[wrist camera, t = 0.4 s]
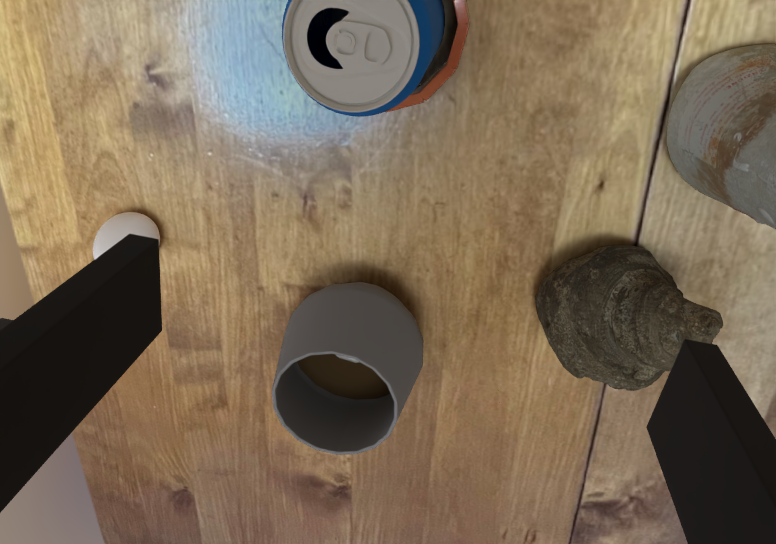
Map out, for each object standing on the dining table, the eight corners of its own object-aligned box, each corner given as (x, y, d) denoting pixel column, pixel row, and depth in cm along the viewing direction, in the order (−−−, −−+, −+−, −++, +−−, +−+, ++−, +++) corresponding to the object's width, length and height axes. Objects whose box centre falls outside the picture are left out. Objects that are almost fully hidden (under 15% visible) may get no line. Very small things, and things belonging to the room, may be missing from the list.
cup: (297, 255, 43) (249, 330, 34) (429, 263, 42) (415, 343, 33) (305, 367, 47) (264, 459, 38) (425, 377, 46) (412, 474, 37)
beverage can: (342, -52, 34) (279, -62, 23) (456, -31, 34) (445, -31, 23) (328, 67, 37) (267, 107, 26) (433, 88, 37) (413, 136, 26)
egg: (113, 203, 43) (66, 233, 38) (164, 208, 43) (123, 239, 38) (121, 251, 45) (77, 286, 40) (170, 257, 45) (131, 292, 40)
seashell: (763, 412, 36) (778, 262, 32) (609, 501, 33) (602, 346, 29) (622, 333, 46) (618, 210, 42) (491, 396, 42) (472, 268, 38)
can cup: (330, -88, 33) (317, -93, 31) (488, -44, 33) (489, -45, 31) (301, 77, 38) (287, 86, 35) (442, 117, 38) (439, 128, 35)
